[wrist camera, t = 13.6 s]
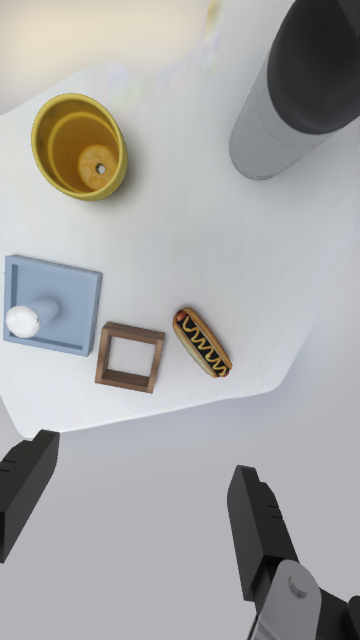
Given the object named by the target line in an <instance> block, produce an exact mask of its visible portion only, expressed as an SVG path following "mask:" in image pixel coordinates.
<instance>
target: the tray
mask: <svg viewBox="0 0 360 640" xmlns="http://www.w3.org/2000/svg"><path fill="white" fill-rule="evenodd" d="M101 279H102V273H98V272H93V271H88V270H84V269H79V268H74V267H69V266H65V265H60V264H55V263H51V262H46V261H41V260H37V259H32V258H27V257H22V256H18V255H9V256H5V291H4V331H3V341H8V342H13V343H18V344H23V345H29V346H34V347H39V348H44V349H49V350H54V351H60V352H65V353H70V354H75V355H80V356H85V357H88V356H89V354H90V353H91V352H92V349H93V341H94V333H95V325H96V318H97V310H98V302H99V294H100V286H101ZM49 298H51V299H53V300H56V301H57V303H58V304H59V305H60V313H59V314H58V315H57V316H56V317H55V318H54V319H53V320H51V321H50V322H49V323H48V324H47V325H45V326H44V327H43V328H42V329H41V330H40V331H39V332H38V333H36V334H35V335H34V336H32V337H29V338H20V337H18V336H16V335H14V334H13V333H12V332H11V331H10V330H9V329H8V327H7V324H6V315H7V312H8V311H9V310H10V309H11V308H13V307H15V306H20V305H24V304H29V303H34V302H37V301H41V300H45V299H49Z"/></svg>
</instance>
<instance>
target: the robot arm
mask: <svg viewBox="0 0 360 640" xmlns="http://www.w3.org/2000/svg"><path fill="white" fill-rule="evenodd" d="M358 116H360V0H296V1H295V2H294V3H293V5H292V6H291V8H290V9H289V11H288V13H287V15H286V16H285V18H284V20H283V22H282V24H281V26H280V29H279V31H278V33H277V35H276V37H275V40H274V42H273V44H272V46H271V48H270V50H269V52H268V55H267V57H266V59H265V61H264V63H263V66H262V68H261V70H260V72H259V74H258V77H257V79H256V81H255V83H254V85H253V87H252V89H251V92H250V94H249V96H248V98H247V100H246V102H245V104H244V107H243V109H242V111H241V113H240V115H239V117H238V119H237V122H236V124H235V126H234V128H233V131H232V133H231V137H230V147H229V148H230V155H231V158H232V161H233V163H234V165H235V167H236V168H237V169H238V170H239V172H240V173H241V174H243V175H244V176H246V177H248V178H251V179H256V180H262V179H267V178H270V177H273V176H274V175H276V174H278V173H279V172H280V171H282V170H283V169H285V168H286V167H288V166H289V165H291V164H292V163H294V162H295V161H296V160H298V159H299V158H301V157H302V156H303V155H305V154H306V153H308V152H309V151H311V150H312V149H313V148H315V147H316V146H318V145H319V144H321V143H322V142H323V141H325V140H326V139H327V138H329V137H330V136H332V135H333V134H335V133H336V132H337V131H339V130H340V129H342V128H343V127H344V126H346V125H347V124H349V123H350V122H352V121H353V120H354V119H356V118H357V117H358ZM59 437H60V433H59V432H54V431H49V430H43V429H42V430H40V431H39V432H38V434H37V435H36V436H35V438H34V439H33V441H27V440H23V441H22V442H20V443H19V444H17V445H16V446H14V447H13V448H12V449H11V450H10V451H9V452H8V453H7V455H6V456H5V457H4V458H3V460H2V461H1V462H0V563H4V562H5V560H6V558H7V556H8V555H9V553H10V551H11V549H12V547H13V546H14V544H15V542H16V540H17V538H18V536H19V535H20V533H21V531H22V529H23V527H24V525H25V524H26V522H27V520H28V518H29V516H30V514H31V513H32V511H33V509H34V507H35V506H36V504H37V502H38V500H39V498H40V497H41V495H42V493H43V491H44V489H45V487H46V485H47V484H48V482H49V480H50V478H51V476H52V474H53V472H54V470H55V467H56V463H57V456H58V448H59ZM227 506H228V512H229V518H230V524H231V529H232V535H233V541H234V547H235V552H236V558H237V564H238V569H239V575H240V581H241V586H242V592H243V598H244V600H245V601H252V602H255V607H256V612H257V613H256V615H255V618H254V621H253V623H252V626H251V629H250V631H249V634H248V637H247V639H246V640H360V596H353V597H352V598H351V599H350V600H349V602H348V603H347V602H345V601H343V600H341V599H339V598H337V597H335V596H334V595H332V594H330V593H328V592H326V591H324V590H323V589H321V588H320V587H318V584H317V583H316V581H315V579H314V577H313V576H312V575H311V574H310V572H309V571H308V570H307V569H305V567H304V566H302V565H301V564H300V562H299V561H298V557H297V555H296V552H295V549H294V547H293V544H292V541H291V538H290V536H289V533H288V531H287V528H286V525H285V523H284V520H283V517H282V514H281V511H280V509H279V506H278V503H277V501H276V498H275V495H274V493H273V492H272V491H271V489H270V488H269V486H268V485H267V484H266V483H264V482H260V480H259V478H258V474H257V472H256V469H255V468H254V467H248V466H243V465H237V467H236V469H235V472H234V475H233V478H232V480H231V483H230V486H229V489H228V494H227Z"/></svg>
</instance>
